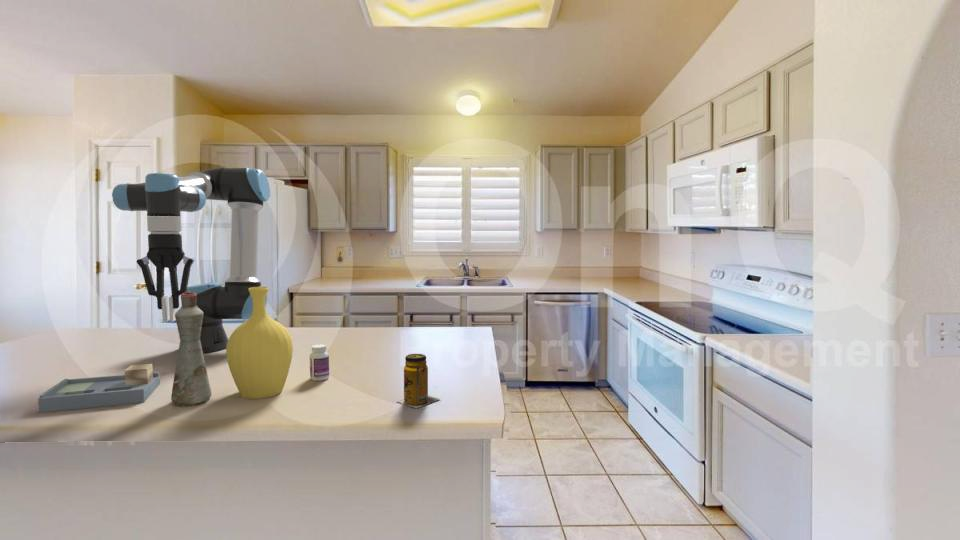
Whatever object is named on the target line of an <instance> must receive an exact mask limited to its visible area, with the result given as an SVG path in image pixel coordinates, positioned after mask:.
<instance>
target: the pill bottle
mask: <svg viewBox="0 0 960 540" xmlns="http://www.w3.org/2000/svg"><path fill="white" fill-rule="evenodd" d="M309 354H310V355H309V375H310V376H309V379H310V380H312V381H315V382H316V381H317V382H318V381H319V382H320V381H325V380H328V379H329V378H330V355H329V353H328V352H327V345H326V344H313V345H312V346H311V353H309Z"/></svg>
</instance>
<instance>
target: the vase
mask: <svg viewBox="0 0 960 540" xmlns="http://www.w3.org/2000/svg"><path fill="white" fill-rule="evenodd" d="M269 289H270V288H269V287H267V286H262V287H251V288H249V289H248V290H249V292H250V295H251V297H252V300H253V312H252V315H251V317H250V318H249V319H247V320H244V321H243V322H242V323H241V324H240V325H238V326H237V327H236V328H235V329H234V330H233V331H232V333H231V335H230V336H229V338H228V343H227V348H225V349H226V350H225V351H226V353H225V354H226V361H227V364H228V368H229V371H230V374H231V377H232V380H233V381H234V384H235V386H236V388H237V390H238V392H239V395H240V397H242V398H244V399H253V400H254V399H255V400H256V399H264V398H266V399H267V398H270V397H273V396H276V395H278V394H281V393H282V392H283V389H284V387H285V383H286V382H287V377H288V374H289V371H290V368H291V363H292V359H293V352H294V343H293V339H292V336H291V333H290V332H289V330H288V329H287V328H286V326H284V325H283V324H281V323H280V322H278V321H277V320H275V319H273V318H272V317H271V316H269V315H268V313H267V310H266V309H267V308H266V307H265V298H266V295H267V296H268V291H269Z"/></svg>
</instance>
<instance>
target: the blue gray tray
mask: <svg viewBox="0 0 960 540" xmlns="http://www.w3.org/2000/svg"><path fill="white" fill-rule="evenodd" d="M160 381H161V380H160V372H159V371H155V372H153V379H152V380H151V381H150V382H149V383H148V384H138V385H127V386H125V374H119V375H116V374H115V375H107V376H93V377H92V376H91V377H84V378H83V377H81V378H71V379H69V378H64V379H63V380H61V381H59V382H58V383H56V384H55V385H54V386H52V387H51V388H49V389H47V390H46V391H45V392H43V393H42V394H40V395H39V397H38V398H37V401H38V412H39V413H40V414H41V413H42V414H43V413H50V412H51V413H52V412H61V411H71V410H80V409H82V410H83V409H90V408H99V407H101V408H102V407H111V406H122V405H131V404H140V403H141V404H142V403H145V402H146V401H147V400H148V398H149V397H150V396H151V395H152V394H153V393H154V391H155V390H156V389H157V388H158V387H159V385H160V383H161V382H160Z"/></svg>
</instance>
